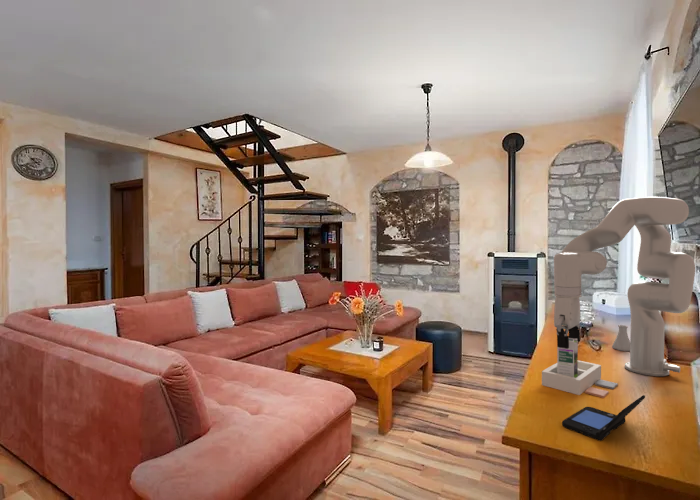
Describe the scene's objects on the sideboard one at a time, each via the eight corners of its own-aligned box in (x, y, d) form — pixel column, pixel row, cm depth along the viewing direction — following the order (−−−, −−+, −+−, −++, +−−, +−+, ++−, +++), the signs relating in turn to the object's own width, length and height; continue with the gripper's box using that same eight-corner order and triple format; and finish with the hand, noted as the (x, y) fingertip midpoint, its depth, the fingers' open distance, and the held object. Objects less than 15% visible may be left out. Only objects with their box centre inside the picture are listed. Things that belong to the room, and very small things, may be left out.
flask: (637, 351, 160) (637, 327, 159) (619, 351, 160) (619, 327, 160) (625, 346, 167) (625, 323, 167) (608, 346, 167) (608, 323, 167)
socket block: (620, 382, 126) (620, 369, 126) (600, 400, 112) (600, 385, 112) (565, 370, 138) (565, 357, 138) (541, 385, 125) (541, 371, 125)
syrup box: (556, 384, 123) (557, 339, 123) (557, 378, 128) (557, 335, 128) (577, 388, 120) (578, 342, 120) (577, 382, 126) (577, 337, 125)
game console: (587, 410, 107) (587, 378, 107) (646, 430, 96) (647, 394, 95) (559, 426, 98) (559, 391, 97) (621, 450, 87) (622, 411, 86)
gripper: (565, 287, 132) (566, 336, 133) (544, 294, 120) (545, 348, 121) (590, 288, 126) (591, 340, 127) (570, 296, 115) (571, 353, 116)
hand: (568, 344), depth 124 cm, fingers open, 9 cm apart
